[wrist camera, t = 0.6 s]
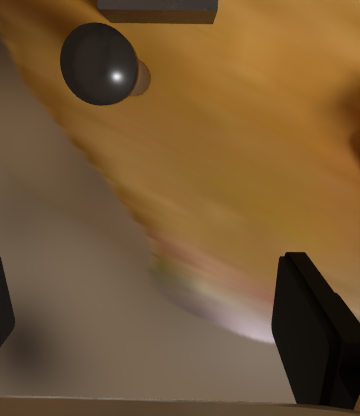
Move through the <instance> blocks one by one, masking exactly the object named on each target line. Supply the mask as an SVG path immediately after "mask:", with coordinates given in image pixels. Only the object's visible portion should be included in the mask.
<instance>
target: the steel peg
mask: <svg viewBox="0 0 360 416" xmlns="http://www.w3.org/2000/svg"><path fill="white" fill-rule="evenodd" d="M60 66H61V71H62V75H63V78H64V80H65V82H66V84H67V86H68V87H69V88H70V90H71V91H72V92H73V93H74V94H75V95H76V96H77V97H78V98H80V99H81V100H83V101H85V102H87V103H90V104H93V105H100V106H102V105H112V104H116V103H119V102H121V101H123V100H124V99H125V98H127V97H128V96H139V95H142V94H143V93H144V92H146V90H147V89H148V87H149V85H150V81H151V76H150V72H149V69H148V68H147V66H146V65H145V64H144V63H143V62H142V61H140V60H139V59H138V58H137V55H136V52H135V50H134V48H133V47H132V45H131V43H130V42H129V41H128V40H127V39H126V38H125V37H124V36H123V35H122V34H121V33H120V32H119V31H117V30H116V29H114V28H113V27H111V26H109V25H106V24H102V23H87V24H84V25H81V26H79V27H77V28H76V29H75V30H73V31H72V32H71V33H70V34H69V35H68V37H67V38H66V40H65V42H64V44H63V47H62V50H61V56H60Z"/></svg>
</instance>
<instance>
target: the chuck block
mask: <svg viewBox="0 0 360 416" xmlns="http://www.w3.org/2000/svg"><path fill="white" fill-rule="evenodd" d="M97 9H98V10H99V11H100V12H101V13H102V14H103V15H104V16H105V17H106V18H107V19H108V20H109V21H110V22H111V23H169V24H213V23H214V20H215V17H216V13H217V9H218V0H97Z"/></svg>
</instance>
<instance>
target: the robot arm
mask: <svg viewBox="0 0 360 416" xmlns="http://www.w3.org/2000/svg"><path fill="white" fill-rule="evenodd" d="M14 325H15V318H14V313H13V309H12V304H11V300H10V296H9V291H8V287H7V283H6V278H5V274H4V270H3V265H2V261H1V257H0V347H1V345H2V344H3V343H4V341H5V340H6V339H7V337H8V336H9V335H10V333H11V332H12V330H13V328H14ZM271 325H272V334H273V337H274V340H275V343H276V346H277V348H278V351H279V354H280V357H281V360H282V363H283V366H284V369H285V371H286V374H287V377H288V380H289V383H290V386H291V389H292V392H293V395H294V397H295V400H296V403H297V404H288V403H275V402H244V401H215V400H179V399H175V400H174V399H143V398H142V399H141V398H140V399H139V398H102V397H101V398H100V397H57V396H55V397H54V396H6V395H3V396H2V395H0V416H360V322H359V321H358V320H357V318H356V317H355V316H354V314H353V313H352V312H351V310H350V309H349V308H348V306H347V305H346V304H345V302H344V301H343V300H342V298H341V297H340V296H339V295H338V294H337V293H334V291H333V290H332V289H331V287H330V286H329V284H328V283H327V282H326V280H325V279H324V278H323V276H322V275H321V273H320V272H319V271H318V269H317V268H316V267H315V265H314V264H313V263H312V261H311V260H310V258H309V257H308V256H307V254H306V253H305V252H286V253H285V256H280V258H279V263H278V271H277V280H276V289H275V297H274V306H273V315H272V324H271Z"/></svg>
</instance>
